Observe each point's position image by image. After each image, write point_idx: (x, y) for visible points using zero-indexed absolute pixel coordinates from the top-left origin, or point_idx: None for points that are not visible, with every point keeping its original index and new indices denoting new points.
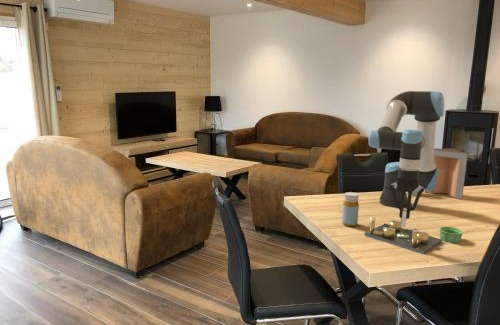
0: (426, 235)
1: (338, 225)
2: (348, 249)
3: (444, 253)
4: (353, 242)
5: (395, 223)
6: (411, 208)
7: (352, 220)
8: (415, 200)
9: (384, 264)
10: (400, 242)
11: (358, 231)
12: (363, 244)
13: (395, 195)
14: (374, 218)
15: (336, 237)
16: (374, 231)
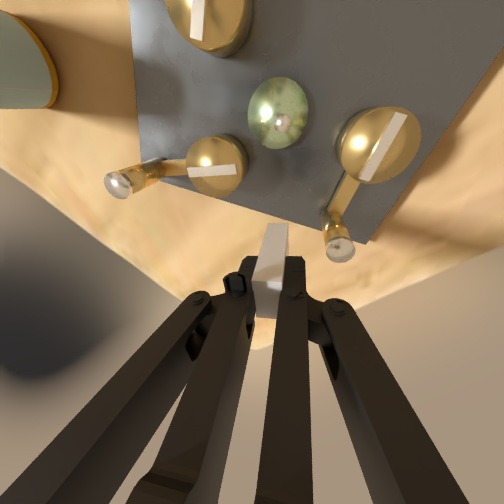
0: (402, 159)
1: (23, 116)
2: (176, 288)
3: (455, 194)
4: (160, 246)
5: (207, 21)
6: (316, 337)
7: (28, 99)
8: (361, 451)
9: (266, 323)
10: (279, 204)
11: (110, 140)
12: (186, 248)
13: (138, 440)
14: (122, 184)
15: (110, 235)
16: (167, 171)
